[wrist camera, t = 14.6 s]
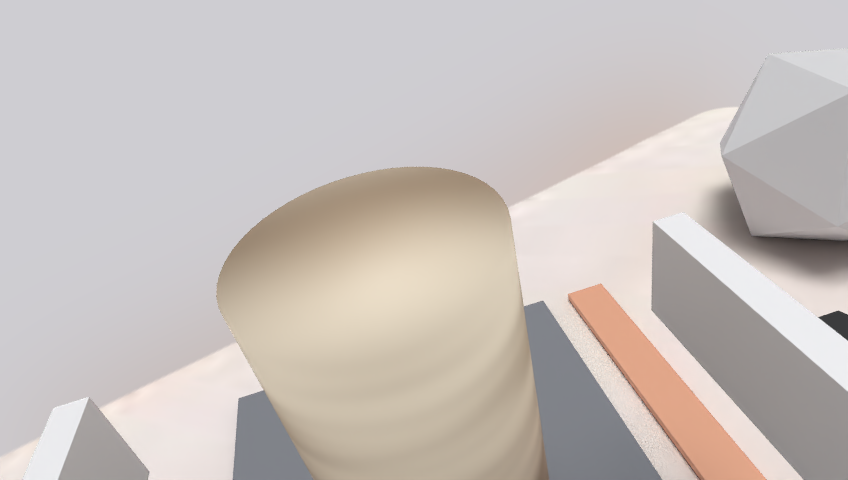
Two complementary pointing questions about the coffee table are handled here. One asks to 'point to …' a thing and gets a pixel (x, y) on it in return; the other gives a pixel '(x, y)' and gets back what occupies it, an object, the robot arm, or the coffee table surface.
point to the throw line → (663, 390)
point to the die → (793, 147)
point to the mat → (558, 407)
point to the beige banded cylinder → (391, 329)
